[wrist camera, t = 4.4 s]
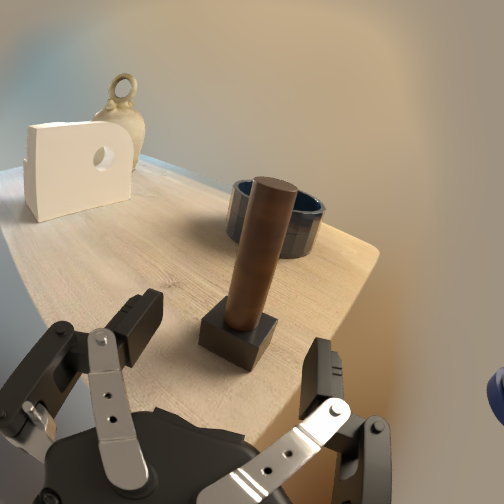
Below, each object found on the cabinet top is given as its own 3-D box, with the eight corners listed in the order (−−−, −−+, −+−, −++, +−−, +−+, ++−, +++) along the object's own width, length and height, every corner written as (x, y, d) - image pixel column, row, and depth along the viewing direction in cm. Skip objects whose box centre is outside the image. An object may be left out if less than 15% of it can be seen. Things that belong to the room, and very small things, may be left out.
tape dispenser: (38, 222, 32) (36, 128, 26) (25, 201, 37) (24, 124, 31) (130, 199, 46) (137, 122, 40) (102, 183, 51) (107, 117, 45)
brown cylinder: (269, 343, 24) (321, 191, 18) (250, 372, 21) (306, 202, 14) (221, 319, 25) (253, 169, 19) (197, 344, 22) (224, 175, 16)
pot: (320, 237, 49) (332, 201, 46) (298, 270, 37) (314, 222, 34) (249, 210, 53) (257, 176, 50) (207, 232, 41) (215, 187, 38)
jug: (111, 160, 70) (122, 76, 59) (152, 168, 68) (167, 76, 57) (72, 169, 57) (83, 72, 46) (114, 179, 55) (129, 68, 43)
